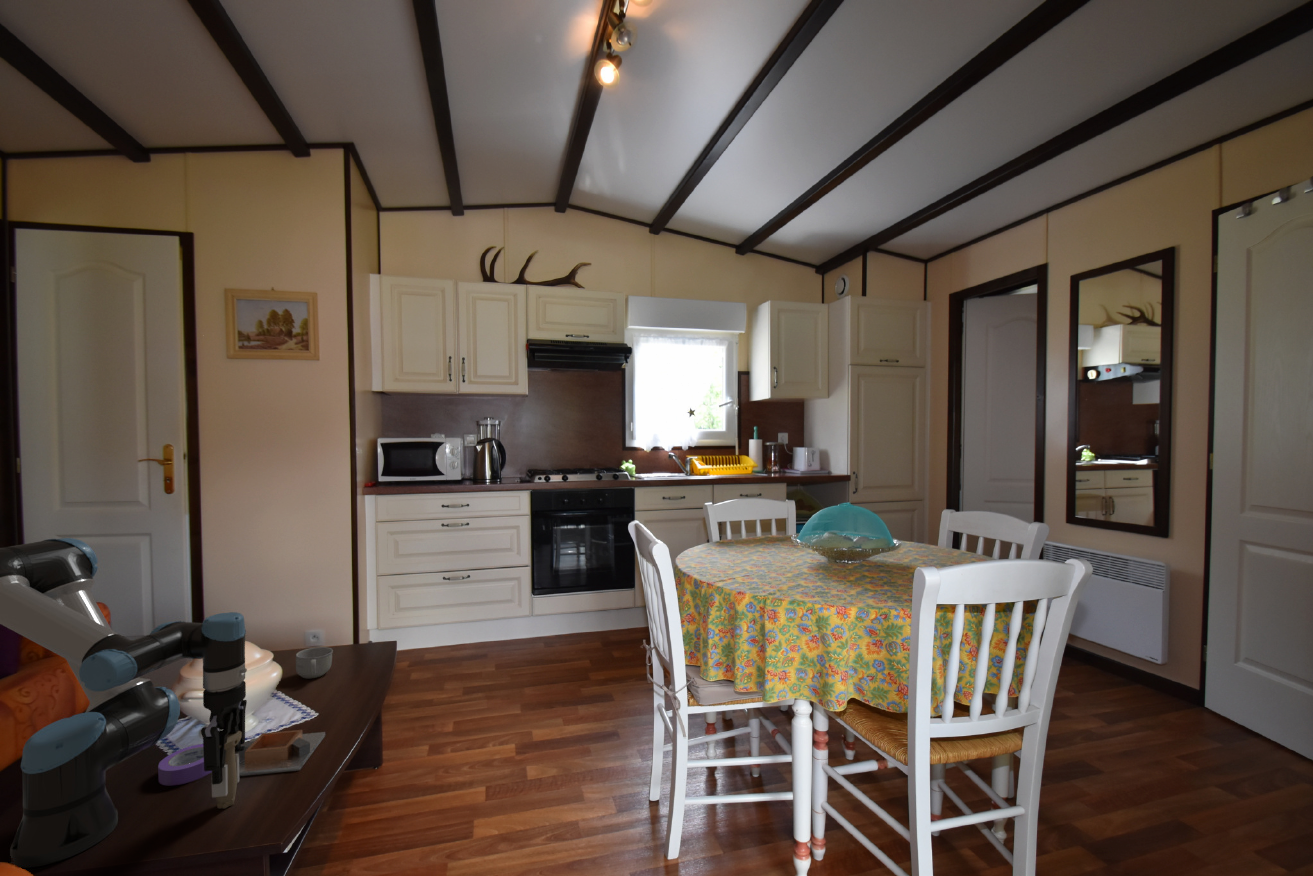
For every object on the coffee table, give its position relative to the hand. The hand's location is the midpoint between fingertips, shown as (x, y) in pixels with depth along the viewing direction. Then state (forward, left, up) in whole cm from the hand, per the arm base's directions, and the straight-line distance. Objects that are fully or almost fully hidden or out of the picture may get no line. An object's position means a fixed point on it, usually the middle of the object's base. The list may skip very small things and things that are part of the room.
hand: (225, 788), depth 125 cm
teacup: (-8, +68, -4) cm, 69 cm away
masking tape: (-16, +16, -4) cm, 23 cm away
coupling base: (+1, +19, -4) cm, 19 cm away
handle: (0, 0, -4) cm, 4 cm away
